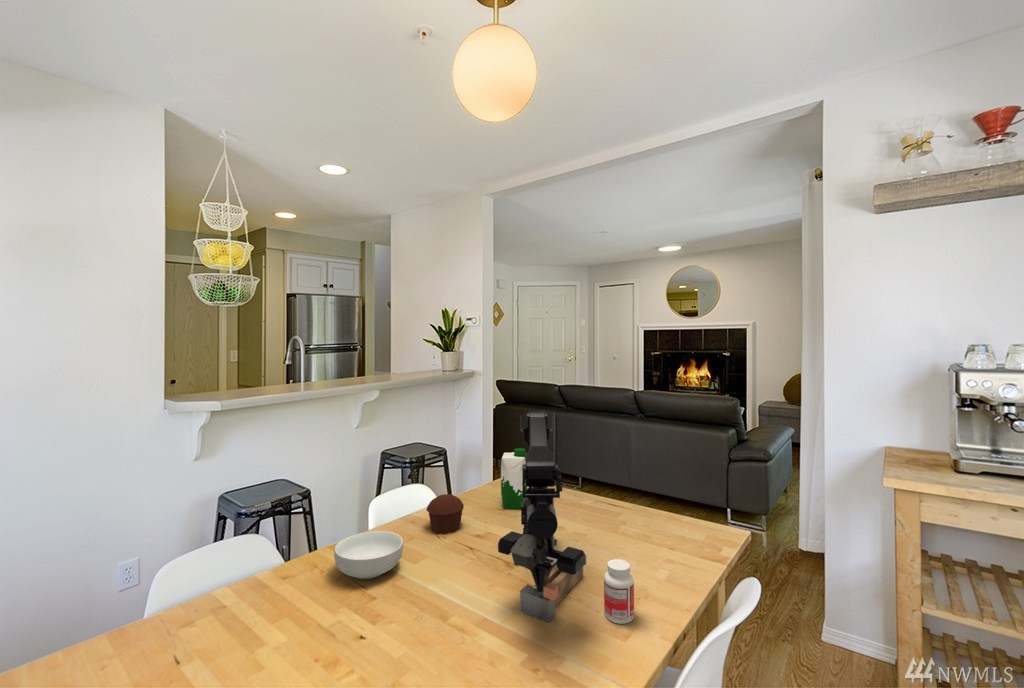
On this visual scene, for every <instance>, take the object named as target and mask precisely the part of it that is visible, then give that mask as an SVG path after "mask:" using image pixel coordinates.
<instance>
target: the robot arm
mask: <svg viewBox="0 0 1024 688" xmlns="http://www.w3.org/2000/svg"><path fill="white" fill-rule="evenodd" d="M553 427H554V426H553V415H551V414H548V412H545V411H529V412H527V413H524V414H522V415H520V432H523V433H522V435H523V436H522V439H523V441H524V442H525V443H526V445H527V447H528V452H527V453H526V464H522V483H523V498H524V503H521V510H520V516H521V517H520V518H521V520H520V521H521V522H520V523H521V524H520V525H522V526H523V528H522V533H520V532H516V531H512V530H511V531H510V532H508V533H506V534H505V535H503V536H502V537H501V538H500V539H499V540H498V542H497V551H498V553H501V554H503V555H507V556H509V555H511V557H512V562H513V565H515V566H517V567H523V568H525V569H526V570H530V573H531V575H532V578H533V581H534V584H535V586H536V587H537V590H538V592H542V591H543V590H544V586H545V585H546V583H547V581H548V578H549V576H550V573H551V571H552V569H553V567H555V566H556V565H557V567H558V569H559V570H560V571H561V572H565V573H568V574H571V575H573V574H576V573H577V572H578V571H579V570H580V569H581V568H582V567H583V568H584V566H585V565H586V564H587V554H586V553H585V551H584V550H583V549H578V548H575V547H572V546H567V547H566V548H565V549H563V550H562V551H561V549H559V548H555V547H556V546H557V545H558V540H557V539H555V533H556V531H557V530H558V518H557V512H556V509H555V499H559V498H561V497H560V496H561V494H560V493H561V492H563V481H562V480H563V479H562V469H560V466H559V464H558V463H557V464H556V461H555V454H554V453H553V452H551V451H550V450H549V445H548V444H549V443H548V442H549V441H550V436H551V434H550V432H553V430H554V429H553ZM525 482H526V486H527V491H525ZM554 487H555V488H554ZM554 498H555V499H554Z"/></svg>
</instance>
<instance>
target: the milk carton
mask: <svg viewBox="0 0 1024 688" xmlns="http://www.w3.org/2000/svg"><path fill="white" fill-rule="evenodd" d="M526 451H527V450H526V448H524V447H517V448H514V450H513V451H512V452H503V455H502V457H501V465H500V495H501V502H502V509H503V510H519V511H521V503H524V498H523V483H522V464H526V454H527V453H526ZM527 488H528V487H527V486H526V482H525V491H527Z"/></svg>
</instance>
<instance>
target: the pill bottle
mask: <svg viewBox="0 0 1024 688" xmlns="http://www.w3.org/2000/svg"><path fill="white" fill-rule="evenodd" d="M634 582H635V580H634V577H633V575H632V574H631V564H630V563H629V562H628V561H627V560H625V559H621V558H615V559H611V560H609V561H608V562H607V571H606V572H605V573H604V576H603V599H604V601H603V606H604V607H603V608H604V609H603V610H604V615H605V617H606V618H607V620H609V621H610V622H612V623H615V624H619V625H620V624H622V625H623V624H624V625H625V624H628V623H630V622H632V621H633V620H634V618H635V585H634V584H635V583H634Z"/></svg>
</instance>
